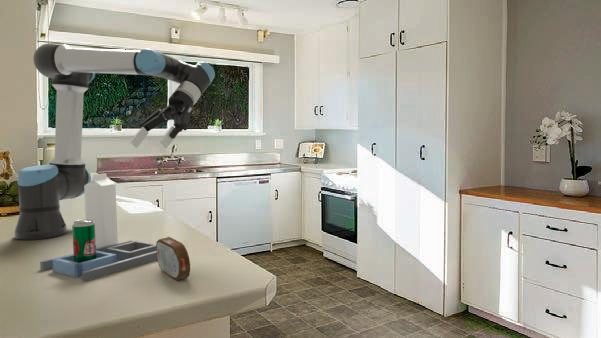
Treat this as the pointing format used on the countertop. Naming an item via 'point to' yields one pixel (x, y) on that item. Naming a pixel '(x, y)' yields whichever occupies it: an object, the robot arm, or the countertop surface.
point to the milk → (102, 209)
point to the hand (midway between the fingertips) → (147, 144)
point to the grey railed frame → (104, 260)
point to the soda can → (84, 240)
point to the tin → (173, 258)
